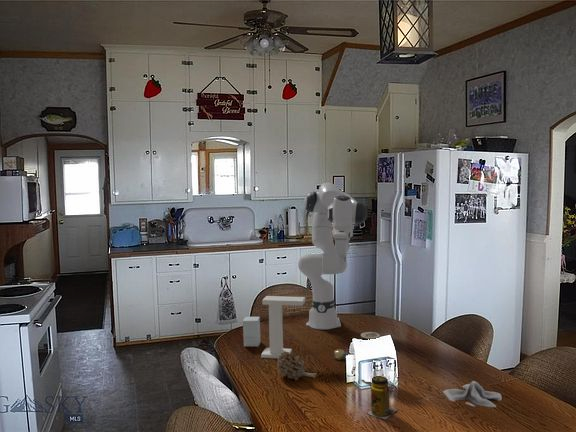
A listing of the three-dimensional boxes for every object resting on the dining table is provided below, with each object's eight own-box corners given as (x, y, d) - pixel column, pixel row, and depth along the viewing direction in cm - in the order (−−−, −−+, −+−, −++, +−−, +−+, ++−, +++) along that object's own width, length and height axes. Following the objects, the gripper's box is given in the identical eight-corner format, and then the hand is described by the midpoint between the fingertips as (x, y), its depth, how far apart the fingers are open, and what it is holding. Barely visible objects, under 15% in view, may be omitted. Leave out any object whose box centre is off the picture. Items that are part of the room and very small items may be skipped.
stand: (266, 350, 234) (264, 295, 232) (306, 352, 230) (305, 296, 228) (261, 357, 225) (259, 300, 223) (303, 359, 221) (302, 301, 219)
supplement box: (260, 341, 247) (260, 316, 246) (258, 346, 240) (257, 320, 239) (246, 341, 248) (245, 316, 247) (243, 346, 240) (242, 320, 239)
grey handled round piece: (270, 376, 204) (269, 352, 203) (286, 369, 211) (286, 346, 210) (311, 391, 188) (311, 366, 188) (327, 383, 195) (327, 358, 195)
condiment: (366, 413, 170) (365, 379, 169) (378, 404, 177) (378, 371, 176) (385, 420, 166) (385, 384, 165) (397, 410, 172) (397, 376, 171)
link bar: (335, 356, 225) (335, 349, 225) (381, 358, 221) (381, 351, 220) (333, 359, 221) (333, 352, 221) (380, 362, 216) (380, 355, 216)
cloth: (434, 396, 184) (434, 380, 183) (464, 382, 195) (464, 367, 195) (491, 418, 166) (491, 400, 166) (520, 402, 178) (520, 385, 177)
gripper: (338, 230, 235) (338, 259, 236) (333, 235, 215) (333, 267, 216) (351, 230, 234) (352, 259, 235) (347, 235, 214) (348, 267, 215)
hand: (343, 263), depth 225 cm, fingers open, 8 cm apart
